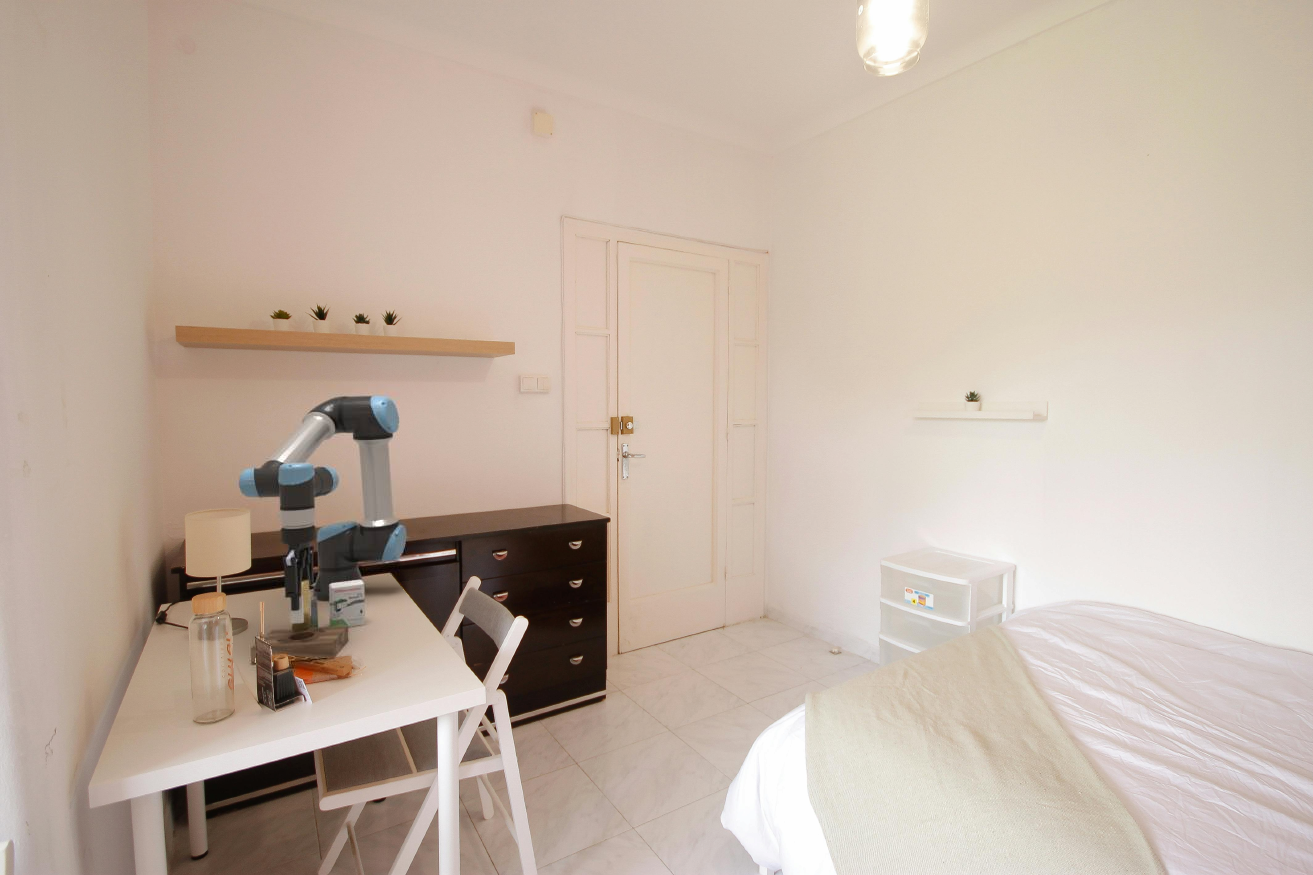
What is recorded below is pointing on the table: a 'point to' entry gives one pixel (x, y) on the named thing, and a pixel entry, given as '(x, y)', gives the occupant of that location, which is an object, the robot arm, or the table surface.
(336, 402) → the robot arm
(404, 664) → the table surface
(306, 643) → the bore block
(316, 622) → the square bit
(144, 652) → the table surface
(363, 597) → the ink box
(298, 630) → the cylinder
